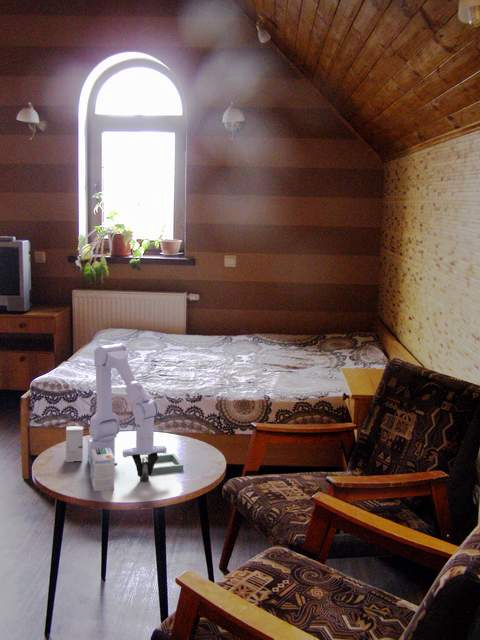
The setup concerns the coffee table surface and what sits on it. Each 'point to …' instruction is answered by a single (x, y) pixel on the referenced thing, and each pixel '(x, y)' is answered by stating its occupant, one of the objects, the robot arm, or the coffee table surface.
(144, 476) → the cell
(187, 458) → the coffee table surface
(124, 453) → the robot arm
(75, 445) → the skincare box
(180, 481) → the coffee table surface
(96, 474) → the light bulb box
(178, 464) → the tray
